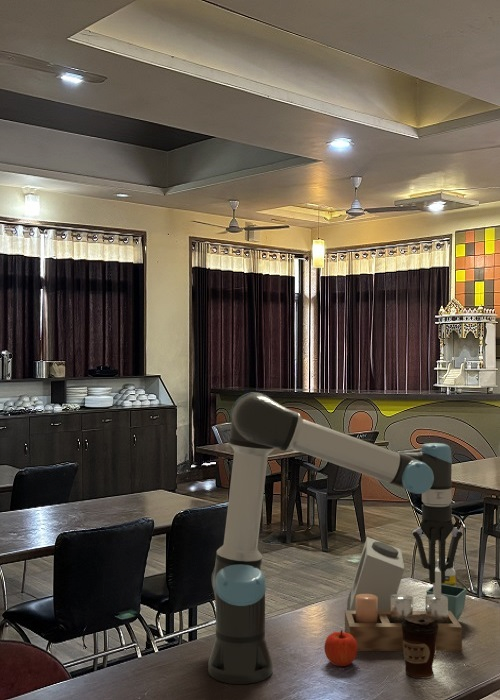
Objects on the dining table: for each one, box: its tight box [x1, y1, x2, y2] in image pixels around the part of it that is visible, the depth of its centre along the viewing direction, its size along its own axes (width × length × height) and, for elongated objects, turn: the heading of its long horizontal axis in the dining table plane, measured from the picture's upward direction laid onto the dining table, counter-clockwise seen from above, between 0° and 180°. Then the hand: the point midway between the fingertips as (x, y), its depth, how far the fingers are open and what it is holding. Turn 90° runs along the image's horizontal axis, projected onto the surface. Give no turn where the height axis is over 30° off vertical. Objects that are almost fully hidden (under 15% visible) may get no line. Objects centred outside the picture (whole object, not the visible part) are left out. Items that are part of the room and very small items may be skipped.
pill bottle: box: [435, 557, 457, 587], centre depth 238 cm, size 6×6×12 cm
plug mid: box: [391, 593, 414, 623], centre depth 203 cm, size 6×6×7 cm
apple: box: [323, 629, 359, 667], centre depth 189 cm, size 8×8×8 cm
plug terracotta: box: [356, 594, 378, 623], centre depth 203 cm, size 6×6×7 cm
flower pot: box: [426, 584, 467, 622], centre depth 218 cm, size 9×9×9 cm
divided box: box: [344, 609, 463, 652], centre depth 203 cm, size 28×12×6 cm, turn 89°
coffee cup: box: [402, 614, 439, 679], centre depth 183 cm, size 9×8×13 cm
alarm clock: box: [346, 536, 405, 611], centre depth 225 cm, size 20×16×20 cm
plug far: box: [425, 594, 448, 624], centre depth 203 cm, size 6×6×7 cm
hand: (437, 595), depth 203 cm, fingers closed
